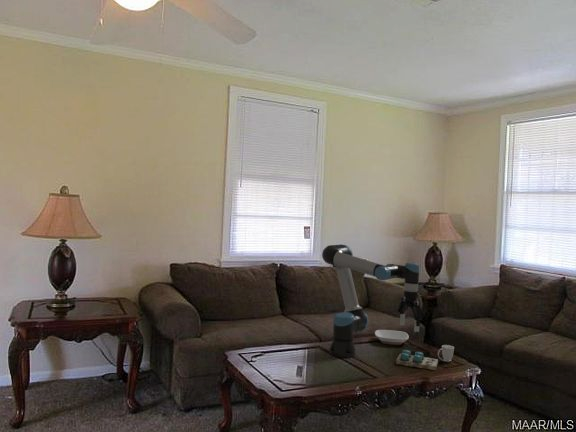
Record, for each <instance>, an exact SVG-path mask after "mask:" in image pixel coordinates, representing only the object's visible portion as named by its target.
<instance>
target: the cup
mask: <svg viewBox="0 0 576 432" xmlns="http://www.w3.org/2000/svg"><path fill="white" fill-rule="evenodd" d="M441 351H442V352H441ZM454 351H455V347H454V346H453V345H450V344H443V345H441V348H439V349H438V352H437V357H438V359H439V360H441V361H443V362H447V363H450V361H451V362H452V359H453V357H454ZM440 352H441V353H442V357H443V359H442V358H441V357H440Z"/></svg>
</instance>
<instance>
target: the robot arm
mask: <svg viewBox="0 0 576 432" xmlns="http://www.w3.org/2000/svg"><path fill="white" fill-rule="evenodd" d="M321 252H322V253H321V256H322V259H323V261H324V263H326V264H327V265H331V266H332V268H333V269H334V270H335V271H336V276H337V278H338V282H339V283H338V284H339V286H340V291H341V295H342V299H343V304H344V307H345V308H344V311H343V312H337V313H336V314H334V316H333V320H332V321H333V326H332V327H333V329H332V330H333V332H332V333H333V334H332V342H331V345H330V347H329V354H330V355H331V356H333V357H337V358H341V359H342V358H353V357H355V356H356V354H357V353H356V352H357V351H356V348H355V343H354V334H357V333H360V332H363V331H364V330H365V329H367V327H368V326H369V322H370V320H369V316H368V315H367V313H366V312H365V311H364V310H363V307H362V306H360V304H359V299H358V296H357V292H356V287H355V283H354V278H353V275H352V274H353V273H352V270H353V271H356V272H358V273H359V272H360V273H362V274H366V275H367V276H368V275H369V276H372V277H375V278H376V279H377V280H378V281H387V280H391V279H393V280H394V279H402V280H404V286H403V289H404V290H403V296H402V297H401V299H400V302H399V306H398V308H397V312H398V313H399V326H405V324H406V323H405V322H406V319H405V318H406V313H405V312H406V311H407V310H408V308H409V309H411V311H412V313H413V315H414V326H413V332H414V333H417V332H420V325H421V320H422V321H423V319H424V317H423V312H422V308H421V302H420V301H417V299H418V298H419V297H418V296H419V279H420V277H419V276H420V264H419V263H416V262H406V263H405V265H403V264H394V263H387V264H386V265H385V264H381V263H378V262H375V261H374V262H373V261H370V260H367V259H364V258H360V257H357V256H355V255H353V251H352V248H350V247H349V246H348V245H345V244H331V245H330V244H329V245H327V246H326V247H324V249H322V251H321Z"/></svg>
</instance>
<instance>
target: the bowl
mask: <svg viewBox="0 0 576 432" xmlns="http://www.w3.org/2000/svg"><path fill="white" fill-rule="evenodd" d="M374 335H375V337H376V338H377V339H378V340H379V341H380V342H381V343H382V344H383V345H391V346H401V345H402V344H403V343H405V342H406V341H407V340H409V338H410V337H409V334H408V333H407V332H405V331H399V330H391V329H377V330H375V331H374Z"/></svg>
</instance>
